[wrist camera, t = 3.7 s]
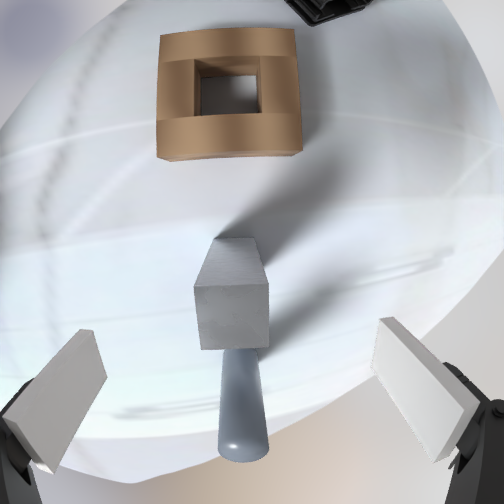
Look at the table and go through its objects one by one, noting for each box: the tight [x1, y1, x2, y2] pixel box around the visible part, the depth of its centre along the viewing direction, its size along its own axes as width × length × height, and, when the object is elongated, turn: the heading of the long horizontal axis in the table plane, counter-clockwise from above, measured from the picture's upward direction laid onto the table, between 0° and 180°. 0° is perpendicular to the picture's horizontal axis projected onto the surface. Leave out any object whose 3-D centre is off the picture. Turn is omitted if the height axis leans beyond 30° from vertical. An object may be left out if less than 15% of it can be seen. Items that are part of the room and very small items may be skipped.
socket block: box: [156, 28, 303, 162], centre depth 23 cm, size 12×12×5 cm
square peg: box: [194, 237, 269, 350], centre depth 23 cm, size 4×4×14 cm
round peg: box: [218, 348, 269, 462], centre depth 25 cm, size 4×4×14 cm
